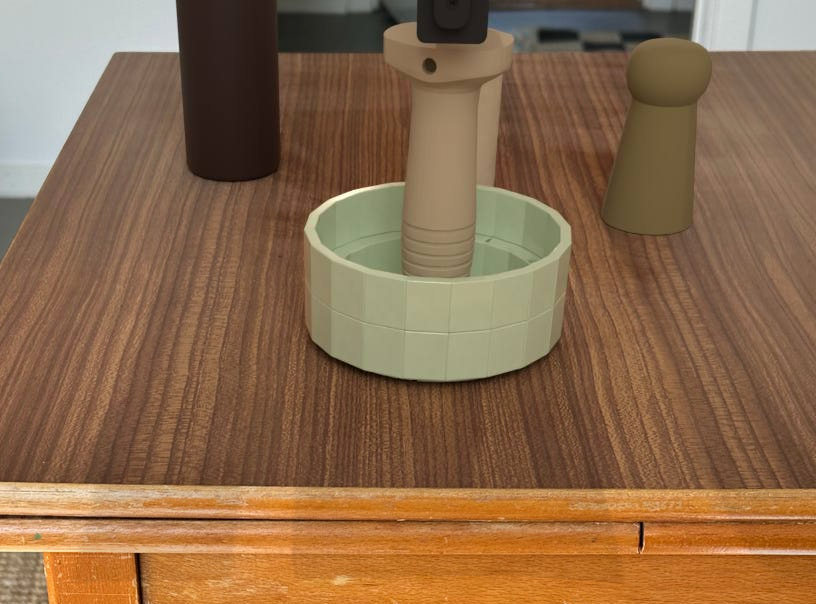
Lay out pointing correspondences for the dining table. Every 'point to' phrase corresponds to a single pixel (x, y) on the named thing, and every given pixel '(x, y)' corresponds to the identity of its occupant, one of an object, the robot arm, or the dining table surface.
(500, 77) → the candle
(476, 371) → the bowl
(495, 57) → the handle
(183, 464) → the dining table surface
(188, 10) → the bottle
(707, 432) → the dining table surface
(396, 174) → the dining table surface
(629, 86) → the olive brown knobbed cone
